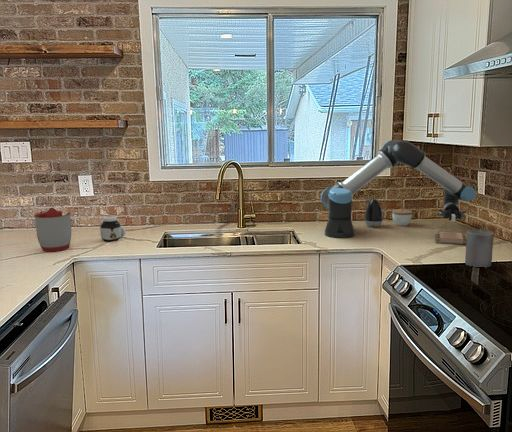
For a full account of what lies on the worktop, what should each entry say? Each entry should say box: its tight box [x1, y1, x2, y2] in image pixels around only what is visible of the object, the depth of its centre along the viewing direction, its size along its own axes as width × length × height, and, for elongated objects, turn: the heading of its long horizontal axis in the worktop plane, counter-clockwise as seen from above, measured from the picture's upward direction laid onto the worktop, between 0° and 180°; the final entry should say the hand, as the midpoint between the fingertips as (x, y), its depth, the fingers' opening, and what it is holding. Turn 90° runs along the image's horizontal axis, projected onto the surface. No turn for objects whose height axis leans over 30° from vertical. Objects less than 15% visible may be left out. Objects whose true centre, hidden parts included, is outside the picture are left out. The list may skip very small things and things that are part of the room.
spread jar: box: [99, 215, 127, 243], centre depth 242 cm, size 12×11×12 cm
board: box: [434, 233, 467, 246], centre depth 232 cm, size 18×14×1 cm
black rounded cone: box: [363, 198, 384, 228], centre depth 264 cm, size 10×10×15 cm
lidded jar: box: [391, 208, 413, 227], centre depth 267 cm, size 11×11×9 cm
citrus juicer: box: [33, 207, 73, 253], centre depth 223 cm, size 16×17×20 cm
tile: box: [439, 231, 463, 244], centre depth 230 cm, size 2×10×13 cm
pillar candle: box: [464, 228, 495, 269], centre depth 190 cm, size 10×10×15 cm
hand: (453, 219), depth 233 cm, fingers closed
